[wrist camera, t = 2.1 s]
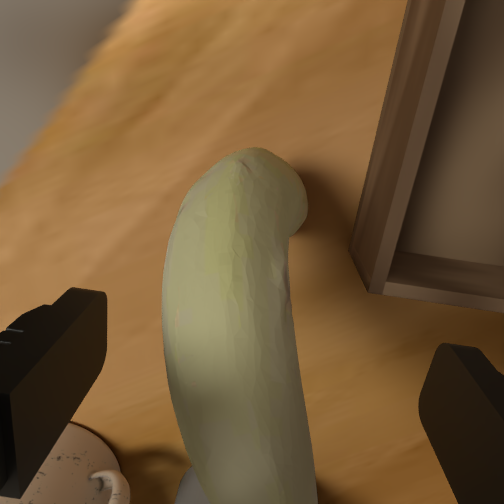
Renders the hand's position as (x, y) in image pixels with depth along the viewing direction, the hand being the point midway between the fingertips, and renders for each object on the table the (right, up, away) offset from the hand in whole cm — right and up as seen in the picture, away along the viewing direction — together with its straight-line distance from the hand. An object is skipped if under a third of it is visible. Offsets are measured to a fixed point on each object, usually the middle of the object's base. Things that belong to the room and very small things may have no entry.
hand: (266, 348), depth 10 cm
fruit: (+1, +4, +11) cm, 12 cm away
